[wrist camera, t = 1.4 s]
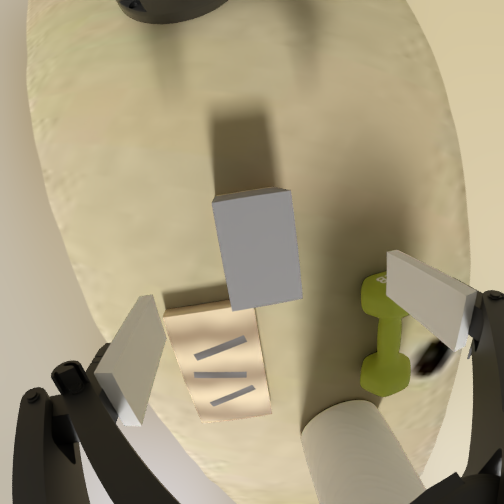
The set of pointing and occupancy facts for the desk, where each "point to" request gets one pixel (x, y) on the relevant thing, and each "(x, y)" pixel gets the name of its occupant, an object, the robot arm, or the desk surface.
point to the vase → (358, 457)
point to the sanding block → (258, 247)
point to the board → (220, 360)
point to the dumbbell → (384, 341)
